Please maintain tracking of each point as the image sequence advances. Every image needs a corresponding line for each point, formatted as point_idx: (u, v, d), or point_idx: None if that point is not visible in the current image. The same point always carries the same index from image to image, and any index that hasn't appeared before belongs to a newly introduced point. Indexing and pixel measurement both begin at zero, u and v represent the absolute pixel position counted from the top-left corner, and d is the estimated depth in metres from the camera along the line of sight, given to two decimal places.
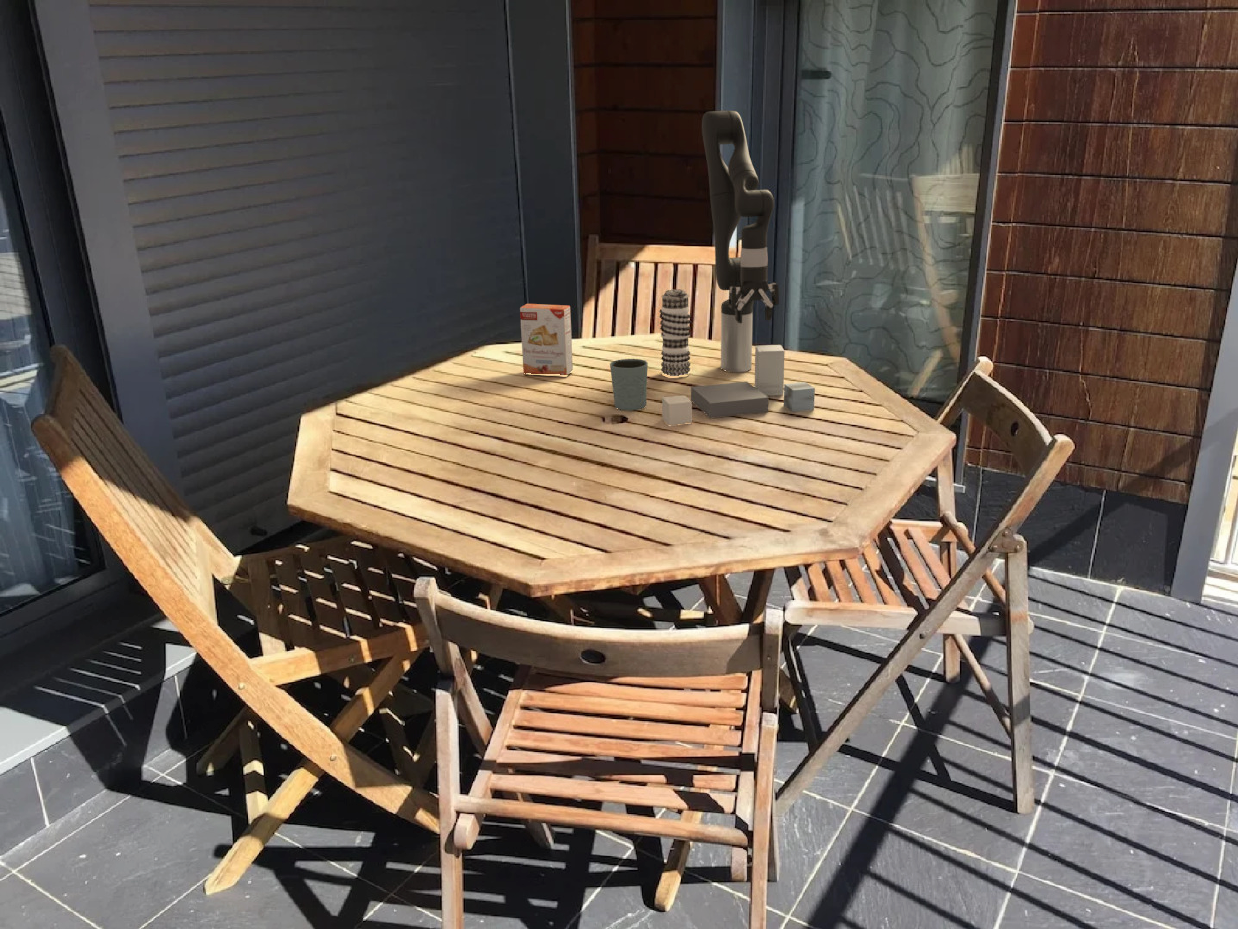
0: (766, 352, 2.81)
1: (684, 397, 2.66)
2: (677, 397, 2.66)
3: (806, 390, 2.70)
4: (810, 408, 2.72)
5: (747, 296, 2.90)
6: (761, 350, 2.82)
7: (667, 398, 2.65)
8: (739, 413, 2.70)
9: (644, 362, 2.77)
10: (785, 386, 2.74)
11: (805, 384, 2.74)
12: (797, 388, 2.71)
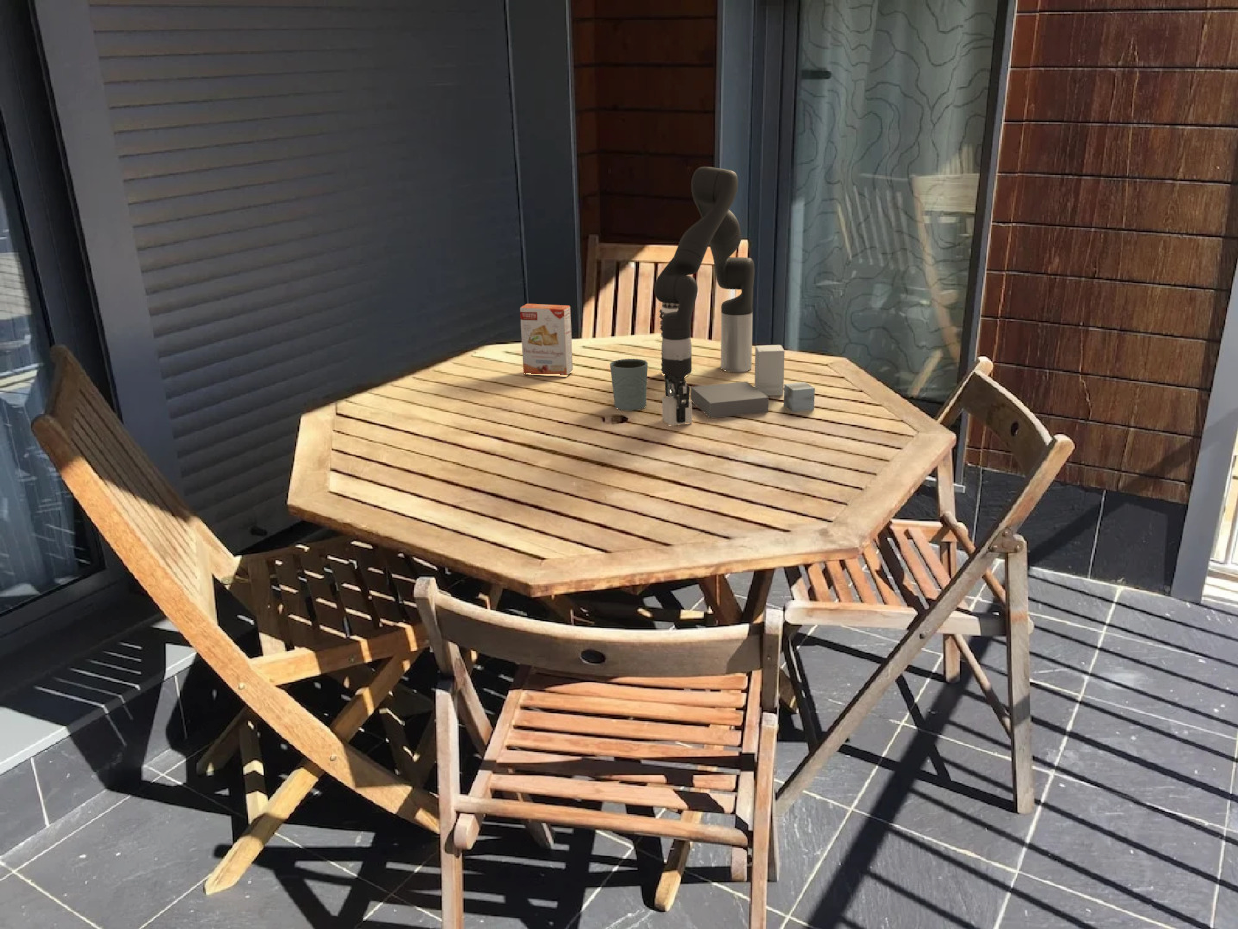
0: (766, 352, 2.81)
1: None
2: None
3: (806, 390, 2.70)
4: (810, 408, 2.72)
5: None
6: (761, 350, 2.82)
7: (667, 398, 2.65)
8: (739, 413, 2.70)
9: (644, 362, 2.77)
10: (785, 386, 2.74)
11: (805, 384, 2.74)
12: (797, 388, 2.71)
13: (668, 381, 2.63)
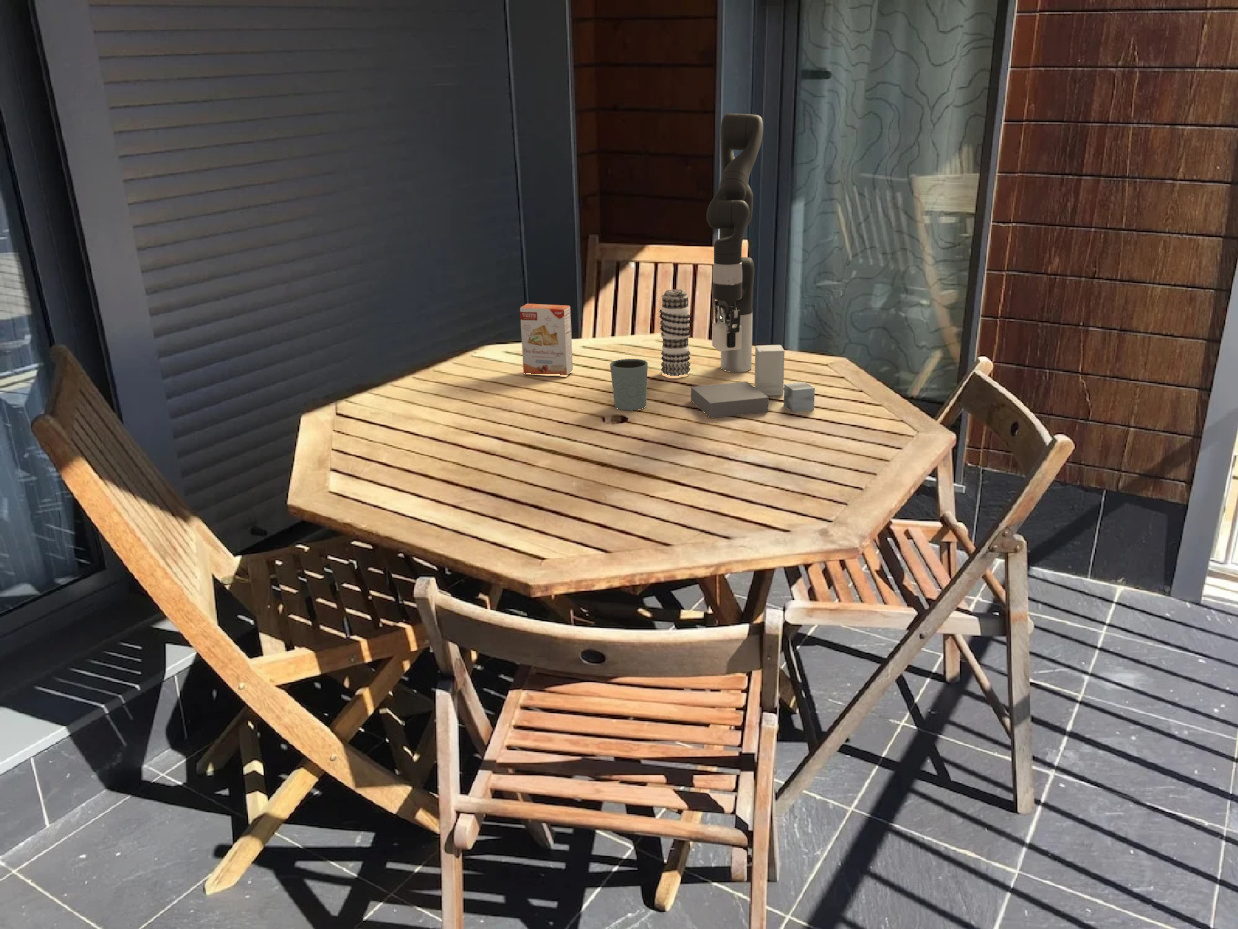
0: (766, 352, 2.81)
1: None
2: None
3: (806, 390, 2.70)
4: (810, 408, 2.72)
5: None
6: (761, 350, 2.82)
7: (717, 324, 2.71)
8: (739, 413, 2.70)
9: (644, 362, 2.77)
10: (785, 386, 2.74)
11: (805, 384, 2.74)
12: (797, 388, 2.71)
13: (719, 307, 2.68)
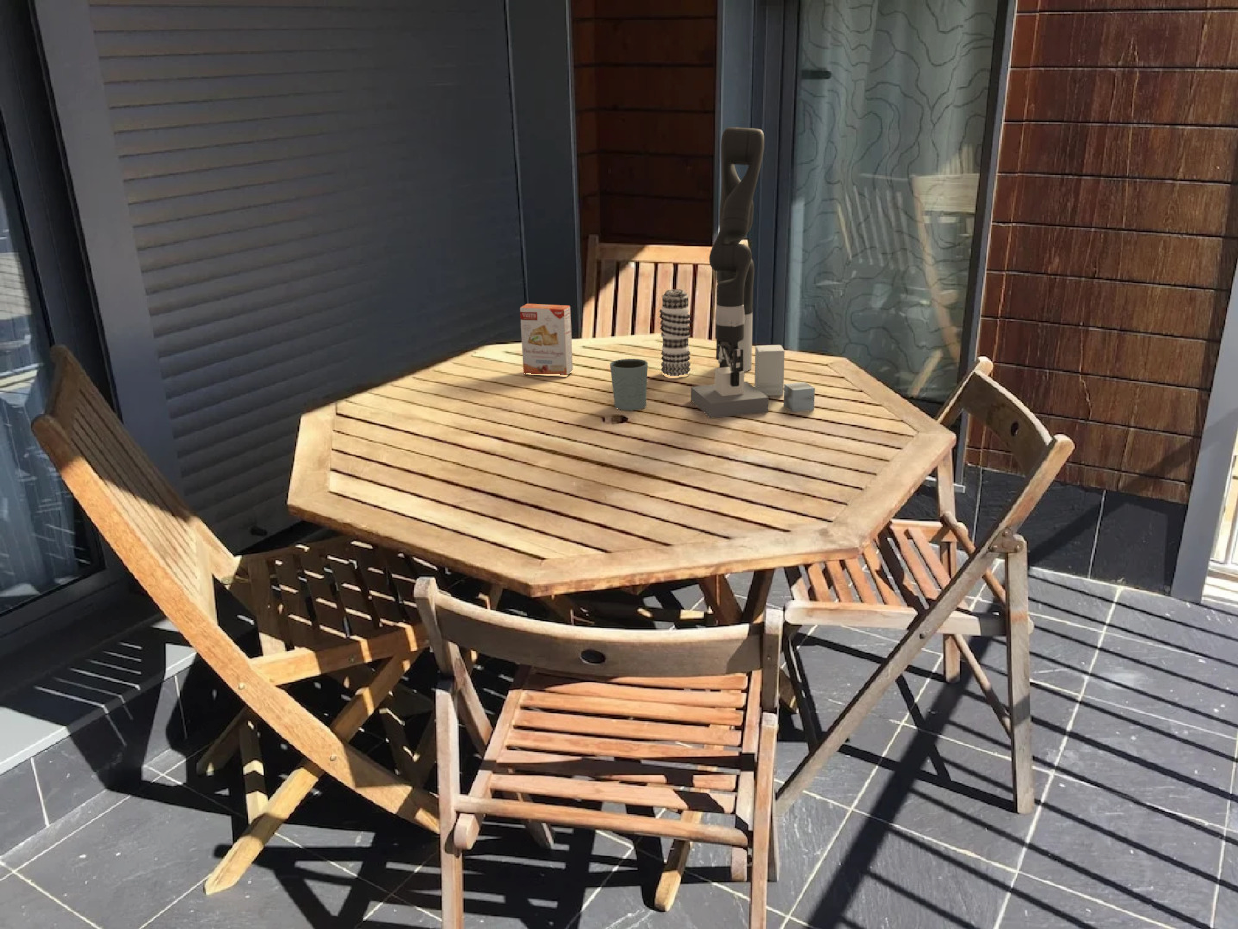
0: (766, 352, 2.81)
1: None
2: (729, 367, 2.76)
3: (806, 390, 2.70)
4: (810, 408, 2.72)
5: None
6: (761, 350, 2.82)
7: (720, 369, 2.75)
8: (739, 413, 2.70)
9: (644, 362, 2.77)
10: (785, 386, 2.74)
11: (805, 384, 2.74)
12: (797, 388, 2.71)
13: (721, 348, 2.72)
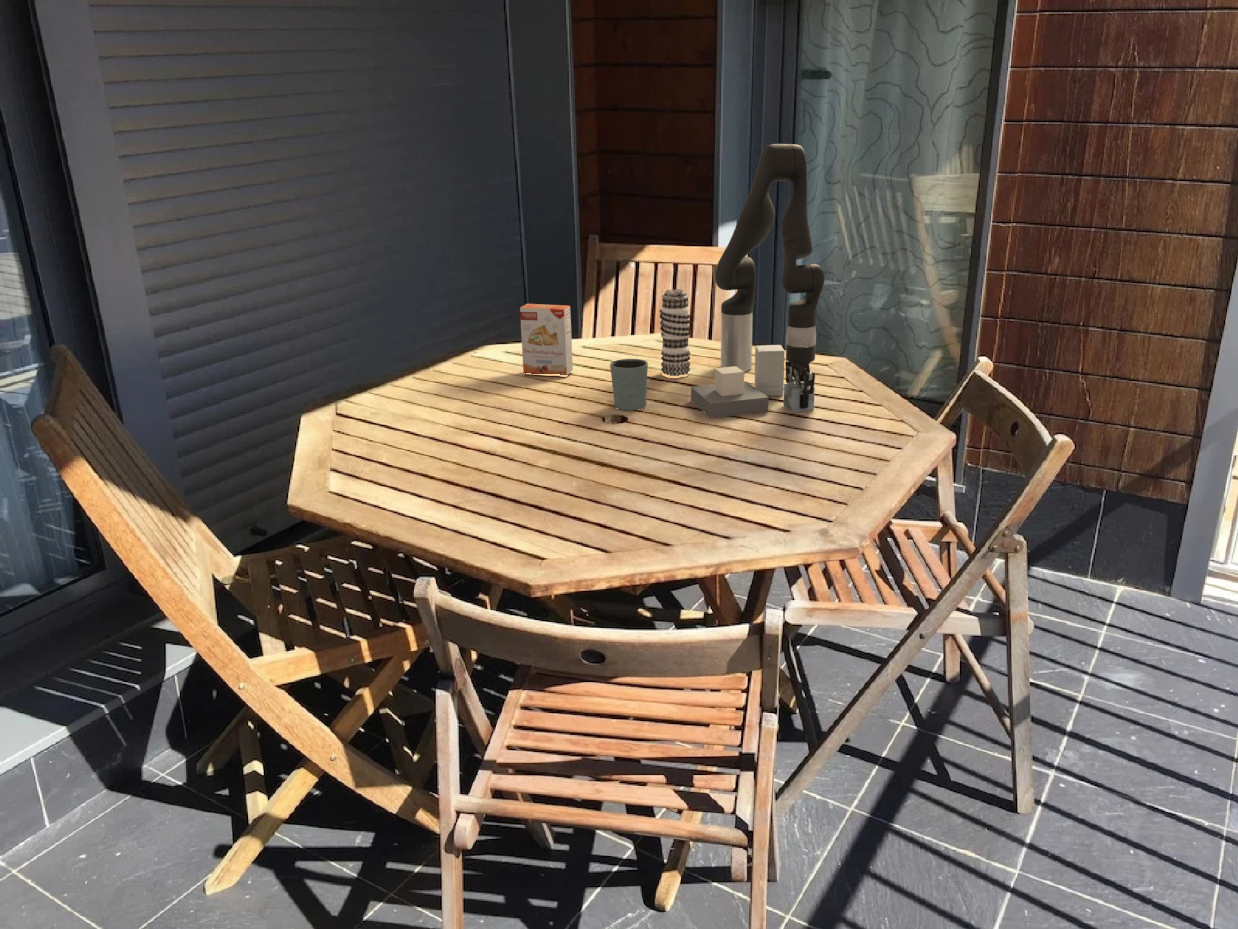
0: (766, 352, 2.81)
1: (736, 368, 2.75)
2: (729, 367, 2.76)
3: None
4: (810, 408, 2.72)
5: None
6: (761, 350, 2.82)
7: (720, 369, 2.75)
8: (739, 413, 2.70)
9: (644, 362, 2.77)
10: (785, 386, 2.74)
11: None
12: (797, 388, 2.71)
13: (791, 368, 2.71)
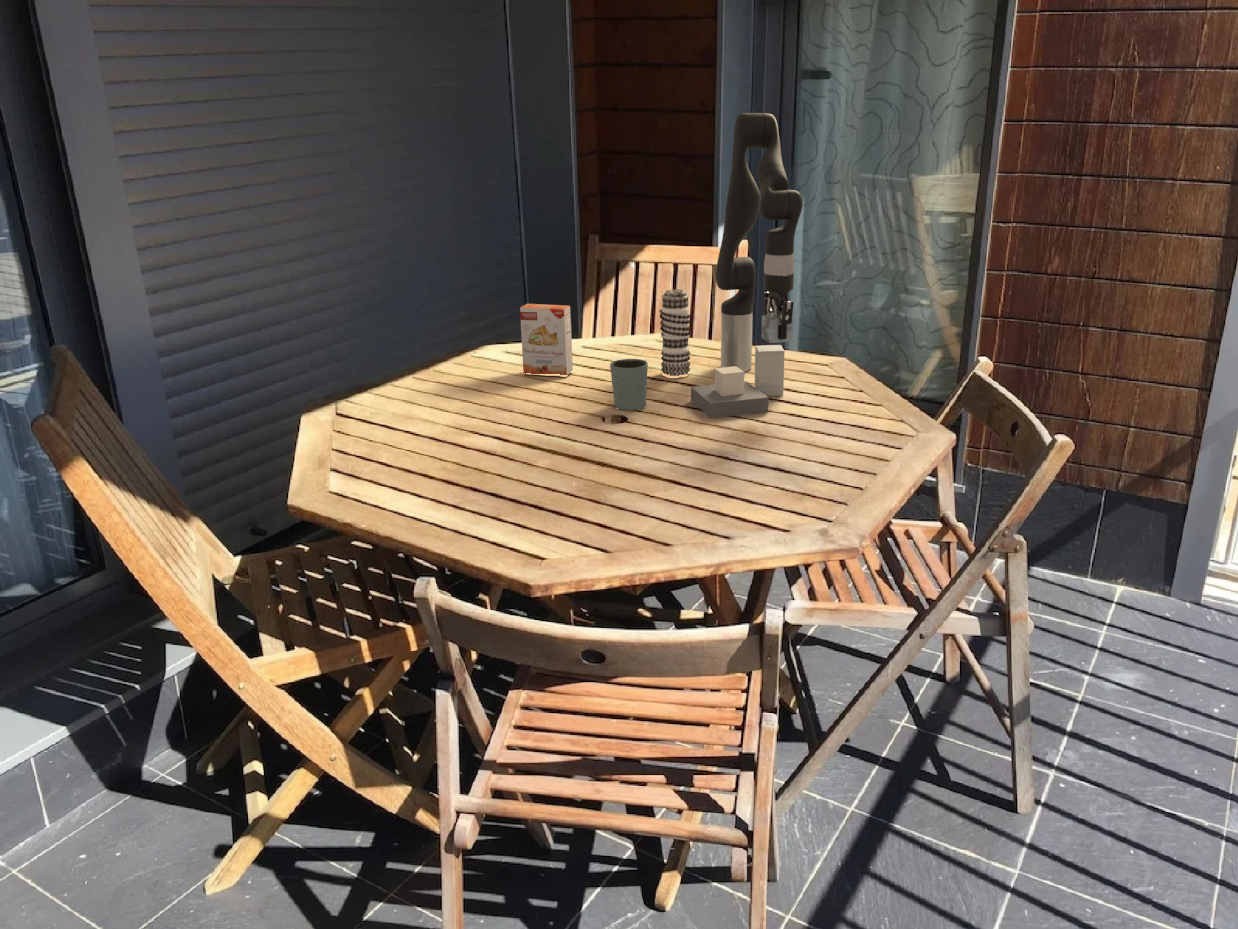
0: (766, 352, 2.81)
1: (736, 368, 2.75)
2: (729, 367, 2.76)
3: None
4: (788, 339, 2.67)
5: None
6: (761, 350, 2.82)
7: (720, 369, 2.75)
8: (739, 413, 2.70)
9: (644, 362, 2.77)
10: (763, 317, 2.69)
11: None
12: (775, 318, 2.65)
13: (769, 298, 2.66)
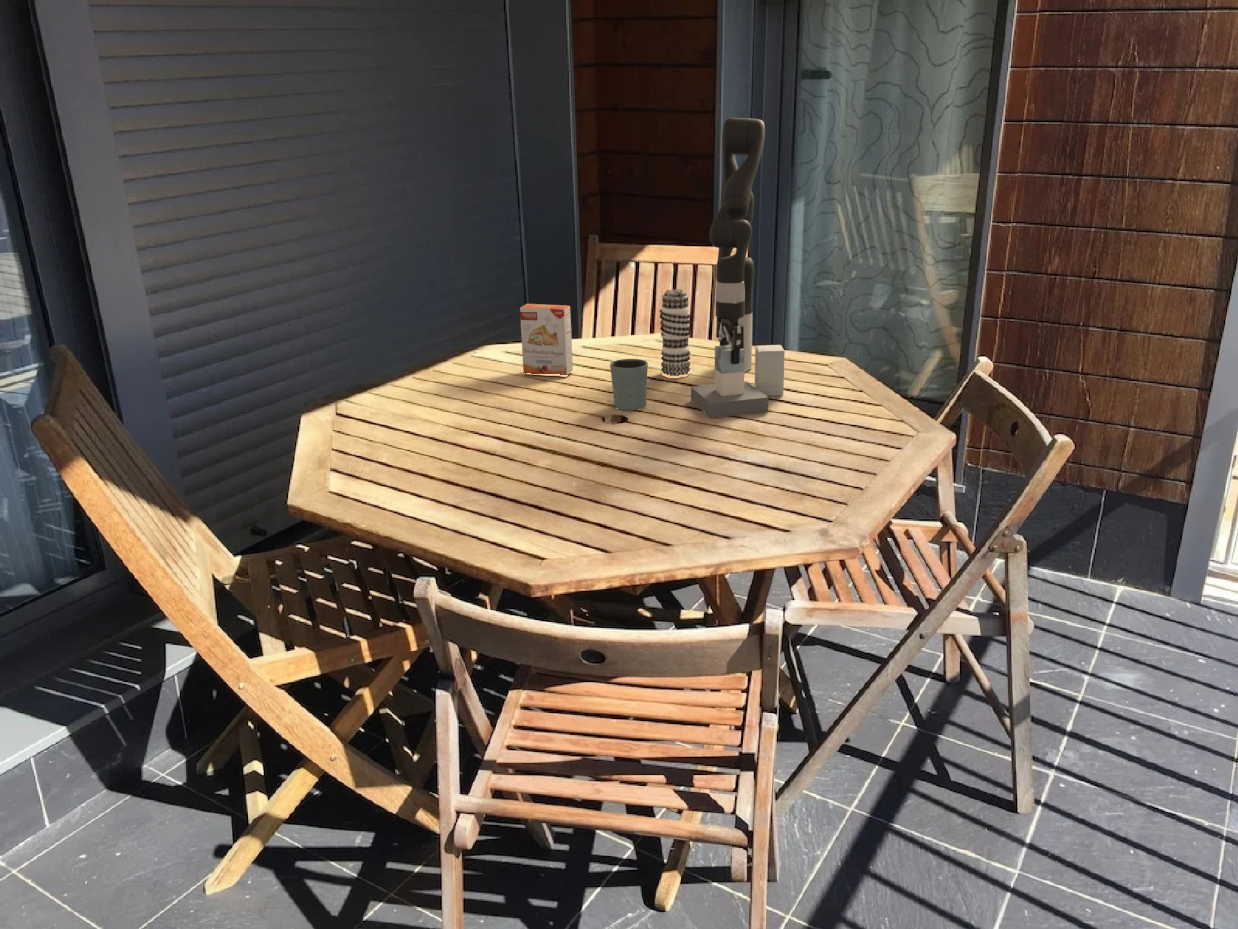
0: (766, 352, 2.81)
1: None
2: None
3: None
4: (740, 370, 2.71)
5: None
6: (761, 350, 2.82)
7: None
8: (739, 413, 2.70)
9: (644, 362, 2.77)
10: (715, 348, 2.73)
11: None
12: (726, 349, 2.70)
13: (721, 325, 2.70)
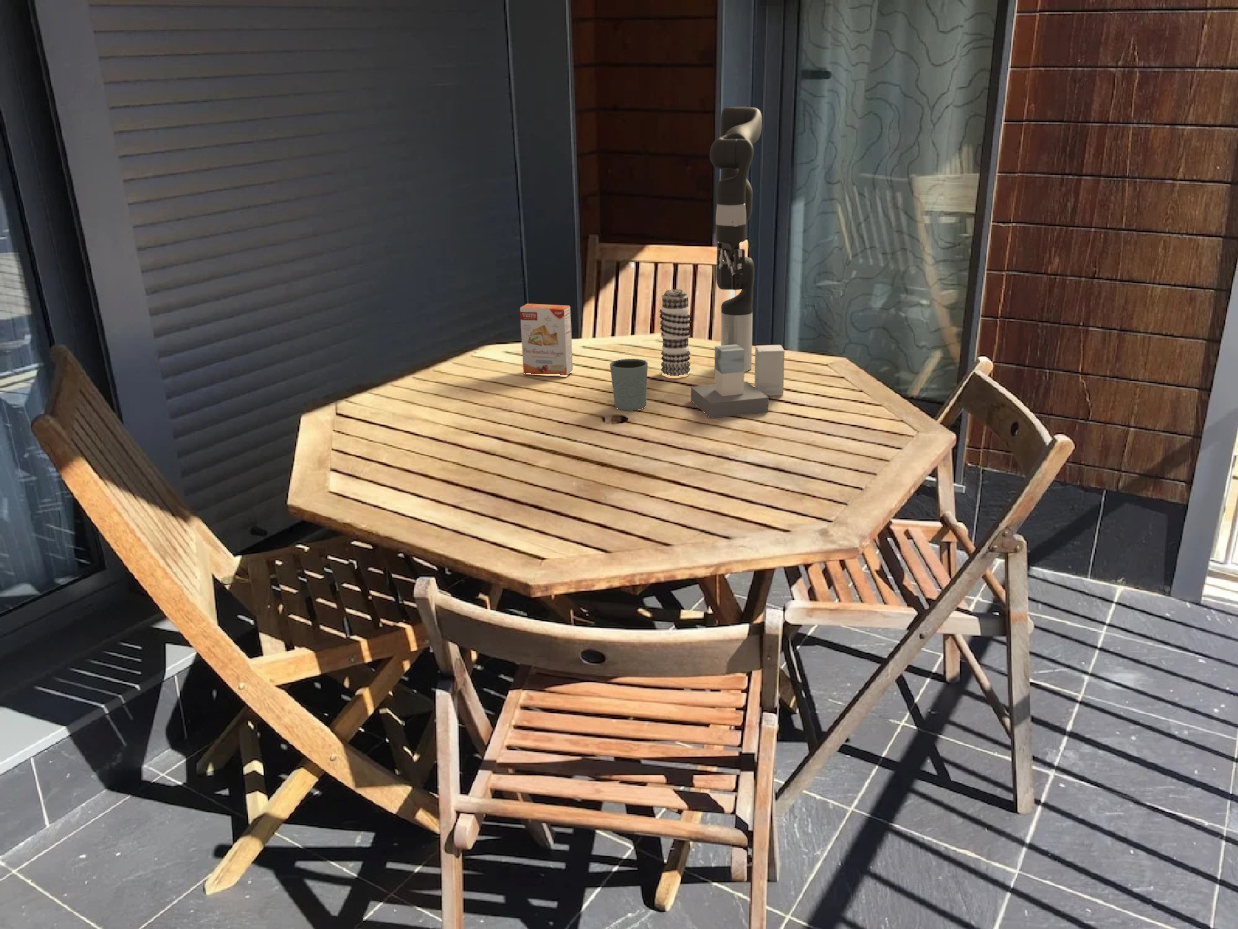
0: (766, 352, 2.81)
1: None
2: None
3: (735, 351, 2.69)
4: (740, 370, 2.71)
5: None
6: (761, 350, 2.82)
7: None
8: (739, 413, 2.70)
9: (644, 362, 2.77)
10: (715, 348, 2.73)
11: (735, 346, 2.73)
12: (726, 349, 2.70)
13: (722, 250, 2.63)
